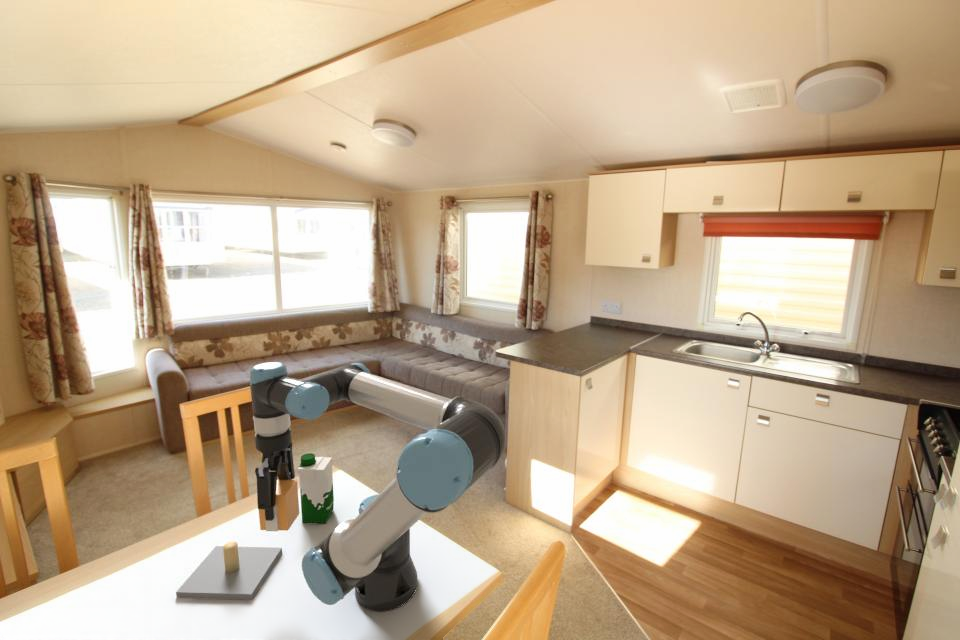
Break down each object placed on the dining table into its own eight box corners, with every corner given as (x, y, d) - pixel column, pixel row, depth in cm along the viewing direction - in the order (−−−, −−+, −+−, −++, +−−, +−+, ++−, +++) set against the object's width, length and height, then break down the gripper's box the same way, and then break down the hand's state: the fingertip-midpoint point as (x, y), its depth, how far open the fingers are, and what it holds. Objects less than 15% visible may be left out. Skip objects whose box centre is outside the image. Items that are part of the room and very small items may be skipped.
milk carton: (309, 507, 142) (305, 449, 138) (337, 508, 142) (334, 450, 138) (297, 525, 133) (293, 463, 129) (328, 526, 133) (324, 464, 129)
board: (282, 552, 122) (280, 526, 120) (251, 599, 106) (249, 570, 105) (216, 551, 122) (213, 524, 120) (176, 597, 106) (172, 568, 105)
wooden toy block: (299, 513, 110) (296, 479, 108) (288, 530, 103) (285, 495, 102) (273, 513, 110) (270, 479, 108) (260, 529, 103) (257, 494, 102)
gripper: (276, 413, 112) (282, 496, 116) (232, 449, 93) (242, 548, 97) (305, 413, 112) (311, 497, 116) (268, 450, 93) (276, 548, 97)
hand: (279, 520), depth 106 cm, fingers closed on wooden toy block, 6 cm apart
